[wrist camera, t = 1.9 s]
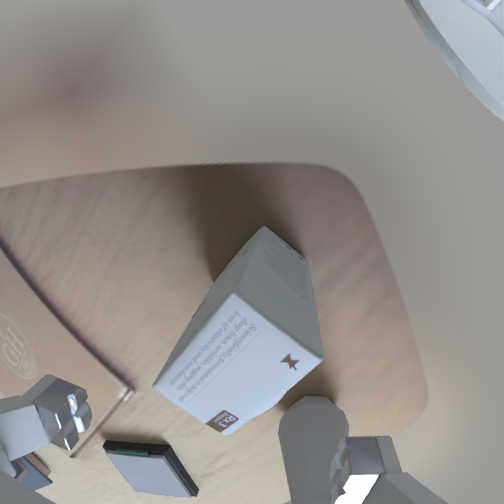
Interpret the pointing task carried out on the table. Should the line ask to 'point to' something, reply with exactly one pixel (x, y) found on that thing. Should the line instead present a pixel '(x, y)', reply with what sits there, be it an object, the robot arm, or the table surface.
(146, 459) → the scale
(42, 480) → the desk lamp
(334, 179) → the table surface
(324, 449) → the salt shaker
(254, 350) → the cosmetic box
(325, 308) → the table surface
